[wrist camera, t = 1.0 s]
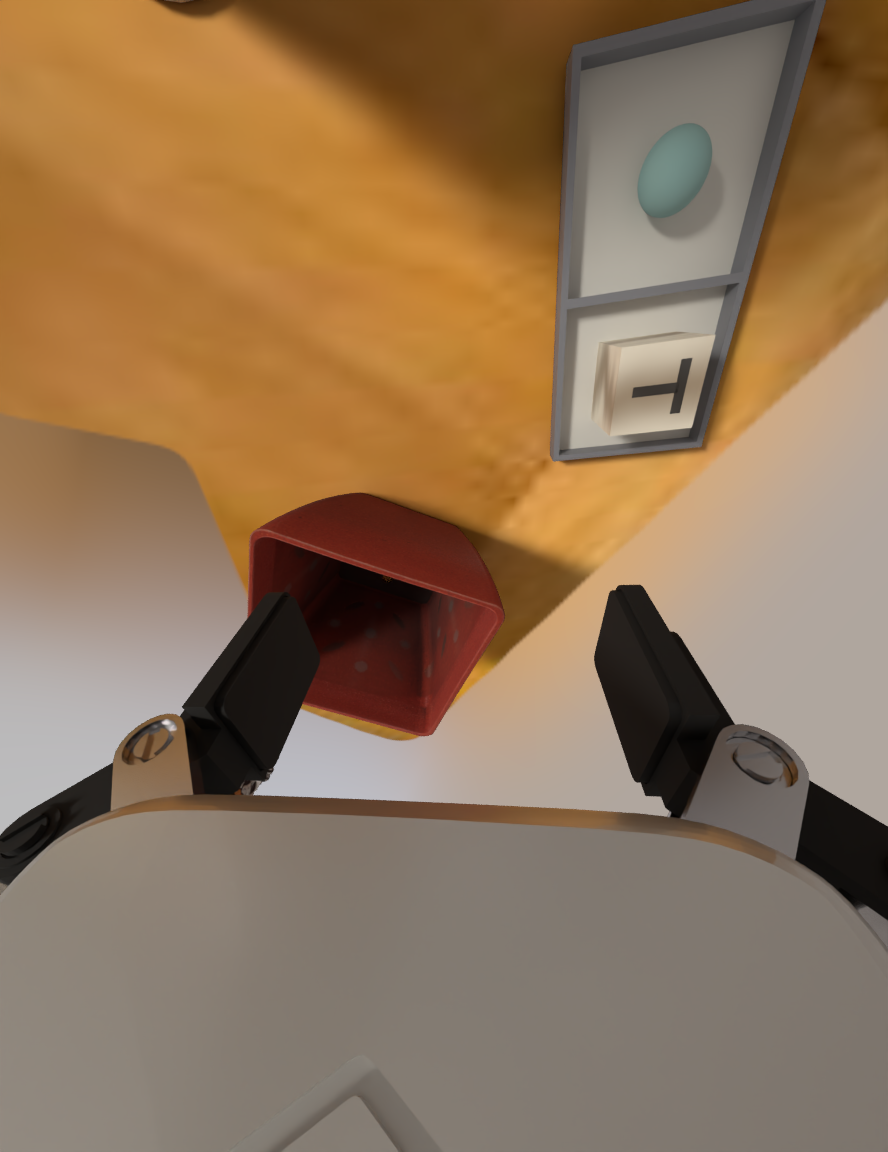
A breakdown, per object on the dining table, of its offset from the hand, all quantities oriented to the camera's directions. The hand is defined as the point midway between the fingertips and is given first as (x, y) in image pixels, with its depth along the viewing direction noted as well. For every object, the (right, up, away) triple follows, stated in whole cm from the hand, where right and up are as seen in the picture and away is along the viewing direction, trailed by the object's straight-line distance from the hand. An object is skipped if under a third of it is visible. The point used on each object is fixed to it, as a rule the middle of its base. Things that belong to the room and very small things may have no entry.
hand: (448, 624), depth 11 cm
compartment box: (+15, +24, +17) cm, 33 cm away
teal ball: (+15, +28, +14) cm, 35 cm away
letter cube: (+16, +19, +20) cm, 32 cm away
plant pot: (-6, +5, +33) cm, 34 cm away
